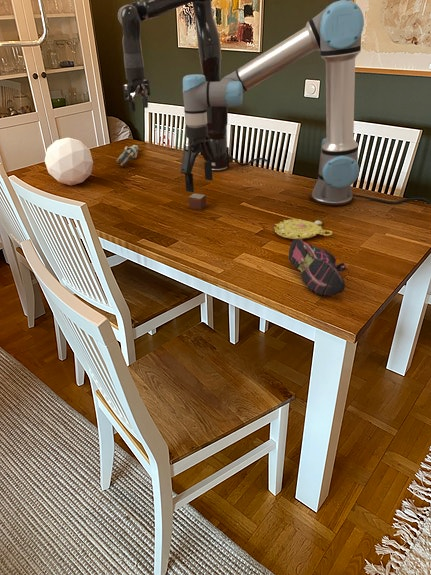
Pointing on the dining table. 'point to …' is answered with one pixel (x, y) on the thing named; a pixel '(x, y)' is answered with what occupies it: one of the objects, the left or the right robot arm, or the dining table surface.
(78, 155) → the sphere
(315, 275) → the athletic shoe
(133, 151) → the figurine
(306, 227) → the decorative object
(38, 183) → the dining table surface
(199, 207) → the block
